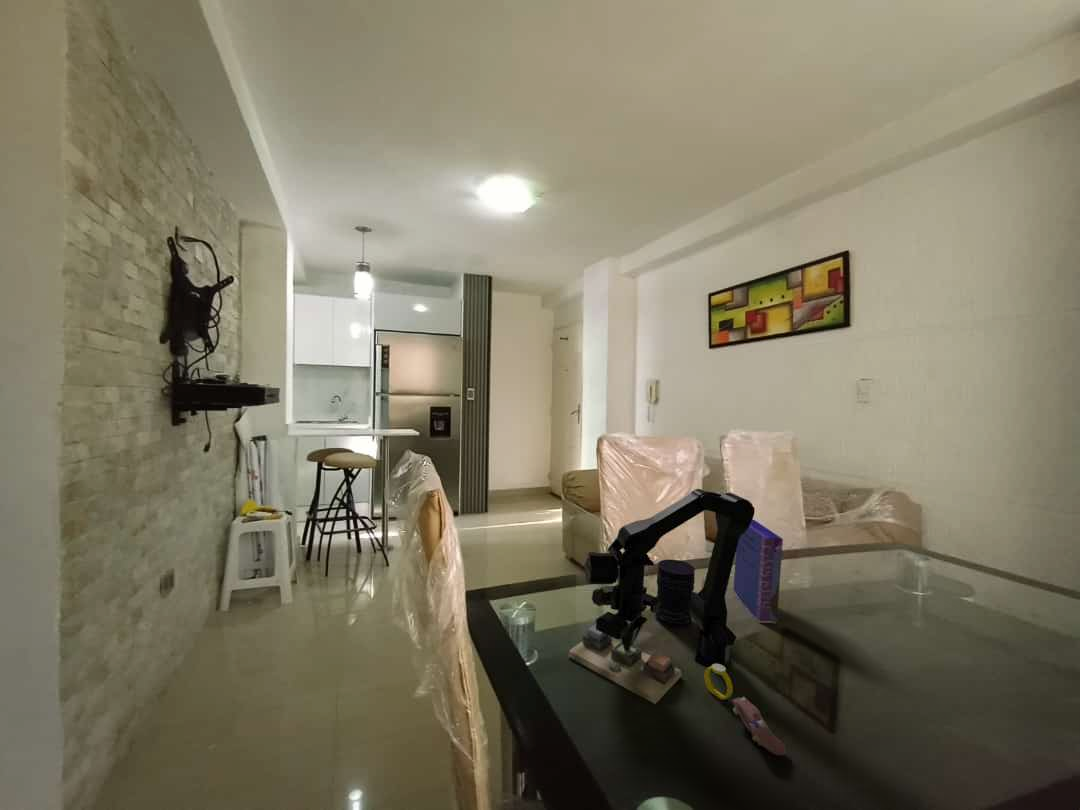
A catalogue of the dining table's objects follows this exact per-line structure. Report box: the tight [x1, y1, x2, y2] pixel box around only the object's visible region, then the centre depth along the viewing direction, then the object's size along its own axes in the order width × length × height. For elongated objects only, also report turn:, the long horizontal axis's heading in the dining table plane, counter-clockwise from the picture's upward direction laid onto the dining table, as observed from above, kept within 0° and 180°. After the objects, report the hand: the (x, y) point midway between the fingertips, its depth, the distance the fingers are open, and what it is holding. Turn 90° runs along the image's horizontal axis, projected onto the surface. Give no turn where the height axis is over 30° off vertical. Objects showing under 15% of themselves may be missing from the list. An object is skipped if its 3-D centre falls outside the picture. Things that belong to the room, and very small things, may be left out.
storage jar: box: [654, 559, 696, 630], centre depth 124 cm, size 10×10×15 cm
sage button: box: [616, 645, 637, 657], centre depth 103 cm, size 3×3×2 cm
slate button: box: [587, 623, 607, 642], centre depth 109 cm, size 3×3×2 cm
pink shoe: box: [732, 696, 787, 757], centre depth 84 cm, size 10×5×7 cm, turn 5°
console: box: [568, 631, 682, 705], centre depth 103 cm, size 22×12×4 cm, turn 49°
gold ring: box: [703, 664, 733, 700], centre depth 95 cm, size 6×3×6 cm, turn 32°
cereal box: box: [733, 518, 784, 623], centre depth 133 cm, size 17×5×24 cm, turn 179°
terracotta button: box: [648, 651, 671, 673], centre depth 98 cm, size 3×3×2 cm
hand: (626, 649), depth 103 cm, fingers closed, pressing on sage button
